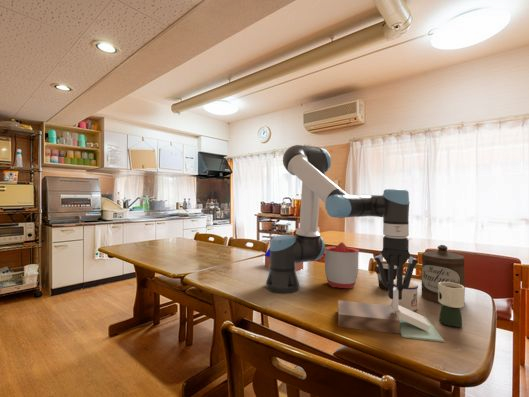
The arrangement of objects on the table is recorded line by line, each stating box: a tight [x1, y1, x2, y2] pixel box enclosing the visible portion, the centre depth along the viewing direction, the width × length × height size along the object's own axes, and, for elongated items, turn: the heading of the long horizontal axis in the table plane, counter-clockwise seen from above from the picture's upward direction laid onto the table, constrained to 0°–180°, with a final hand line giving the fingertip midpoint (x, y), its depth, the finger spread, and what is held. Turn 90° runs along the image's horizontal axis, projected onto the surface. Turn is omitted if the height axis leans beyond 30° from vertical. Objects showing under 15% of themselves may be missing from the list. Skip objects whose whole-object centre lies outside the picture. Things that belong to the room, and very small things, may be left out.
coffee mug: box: [374, 263, 397, 291], centre depth 126 cm, size 12×9×10 cm
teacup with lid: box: [394, 275, 419, 312], centre depth 105 cm, size 12×9×12 cm
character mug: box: [438, 282, 466, 327], centre depth 90 cm, size 11×7×13 cm, turn 141°
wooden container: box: [421, 244, 466, 305], centre depth 113 cm, size 15×15×22 cm
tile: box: [394, 305, 430, 332], centre depth 88 cm, size 9×7×2 cm
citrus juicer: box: [324, 242, 360, 289], centre depth 129 cm, size 16×17×20 cm
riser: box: [337, 300, 401, 335], centre depth 91 cm, size 18×12×4 cm, turn 76°
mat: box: [399, 315, 445, 343], centre depth 88 cm, size 11×16×1 cm
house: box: [264, 247, 304, 272], centre depth 159 cm, size 12×20×12 cm, turn 47°
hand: (394, 308), depth 89 cm, fingers closed
